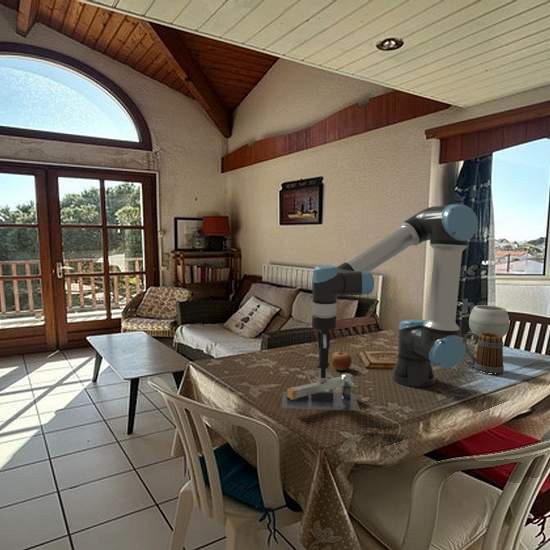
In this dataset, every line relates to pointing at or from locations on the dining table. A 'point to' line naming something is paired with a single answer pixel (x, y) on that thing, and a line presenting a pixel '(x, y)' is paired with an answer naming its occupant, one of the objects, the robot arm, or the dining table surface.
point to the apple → (341, 360)
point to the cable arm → (320, 386)
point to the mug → (487, 352)
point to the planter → (489, 320)
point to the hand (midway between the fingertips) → (322, 386)
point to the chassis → (324, 402)
